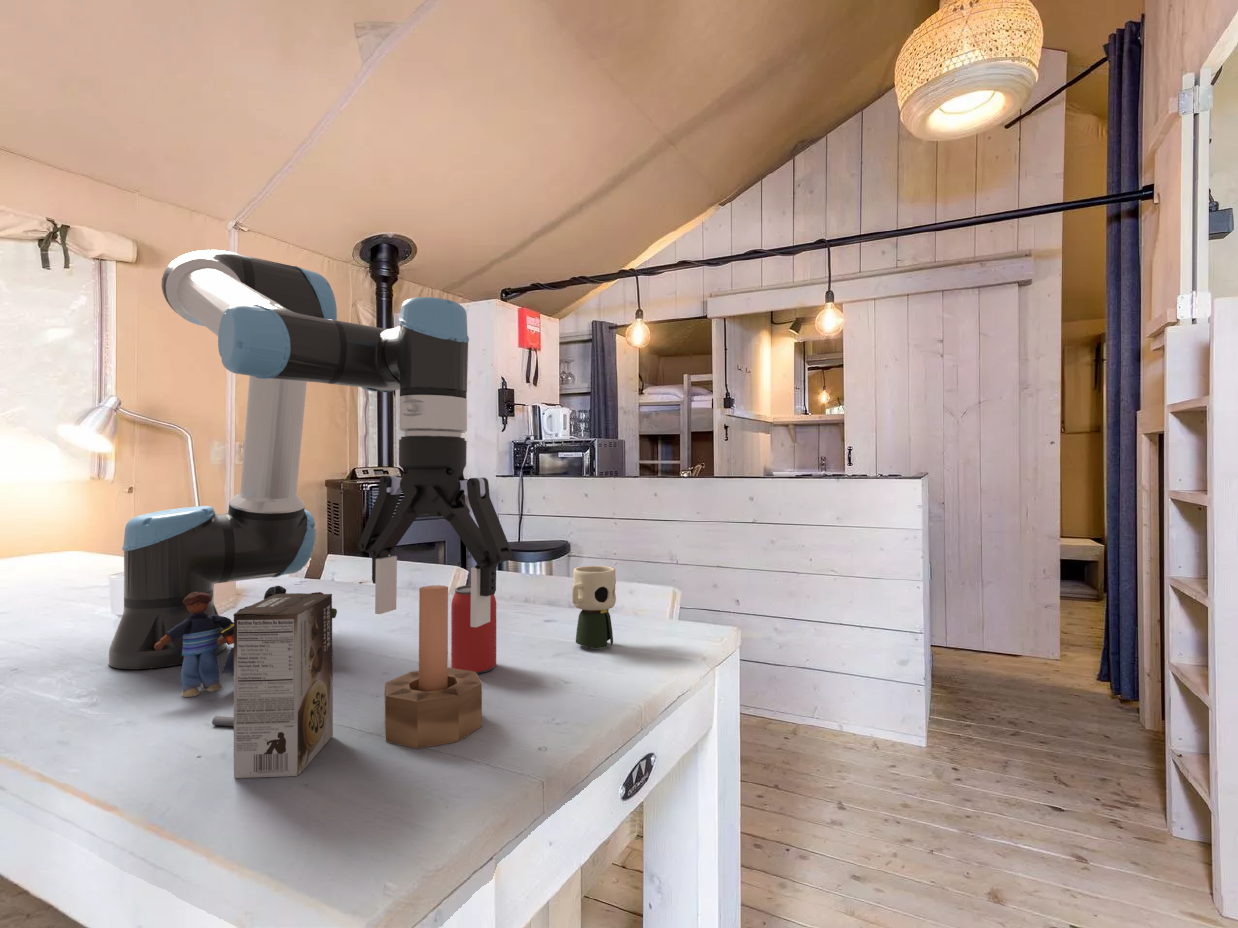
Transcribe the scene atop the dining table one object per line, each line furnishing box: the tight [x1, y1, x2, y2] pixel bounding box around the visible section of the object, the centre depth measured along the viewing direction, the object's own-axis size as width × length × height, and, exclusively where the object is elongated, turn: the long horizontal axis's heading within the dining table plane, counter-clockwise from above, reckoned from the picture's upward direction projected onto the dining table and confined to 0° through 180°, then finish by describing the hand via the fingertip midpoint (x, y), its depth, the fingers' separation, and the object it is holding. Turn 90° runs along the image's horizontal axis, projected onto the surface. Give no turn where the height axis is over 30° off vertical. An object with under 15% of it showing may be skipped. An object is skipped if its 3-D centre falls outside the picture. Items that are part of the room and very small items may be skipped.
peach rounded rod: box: [418, 584, 449, 692], centre depth 71 cm, size 3×3×16 cm
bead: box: [384, 667, 483, 749], centre depth 71 cm, size 10×10×5 cm
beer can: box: [450, 584, 497, 675], centre depth 92 cm, size 7×7×12 cm
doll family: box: [154, 585, 338, 698], centre depth 88 cm, size 23×9×13 cm, turn 159°
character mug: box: [571, 565, 617, 649], centre depth 103 cm, size 11×7×13 cm, turn 143°
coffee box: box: [233, 592, 334, 779], centre depth 64 cm, size 9×6×16 cm
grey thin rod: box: [211, 715, 234, 727], centre depth 71 cm, size 10×1×1 cm, turn 83°
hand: (431, 617), depth 72 cm, fingers open, 13 cm apart
